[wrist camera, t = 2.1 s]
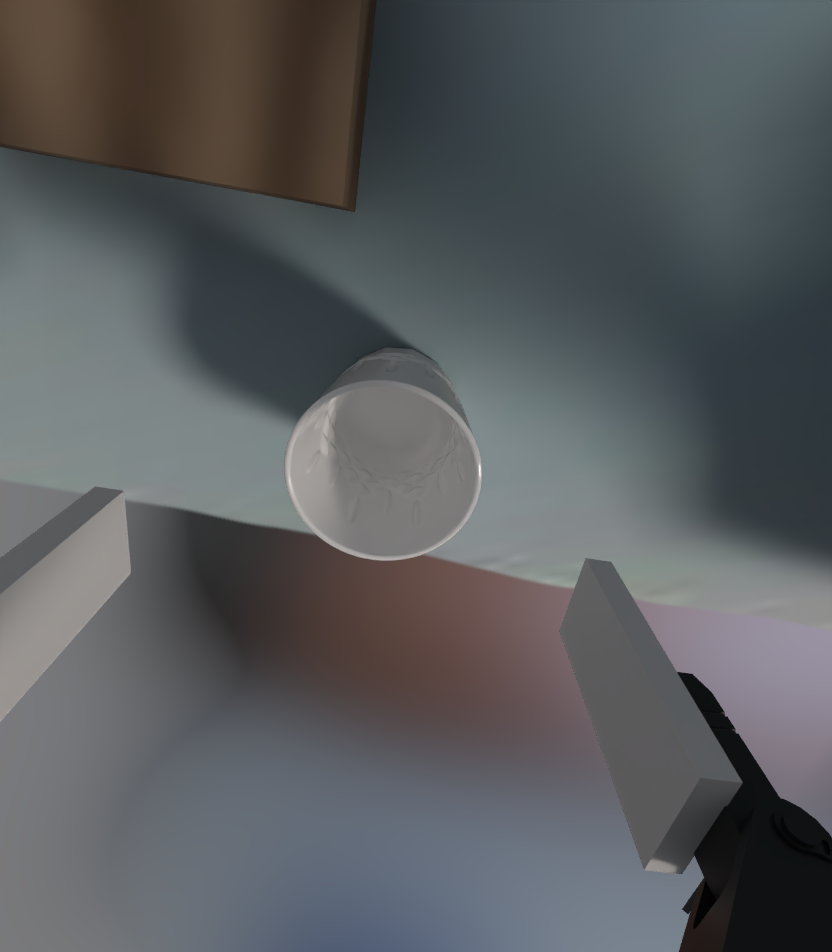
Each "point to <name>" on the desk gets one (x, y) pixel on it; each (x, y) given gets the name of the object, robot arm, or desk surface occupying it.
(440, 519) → the white cup
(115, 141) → the walnut base
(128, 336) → the desk surface
